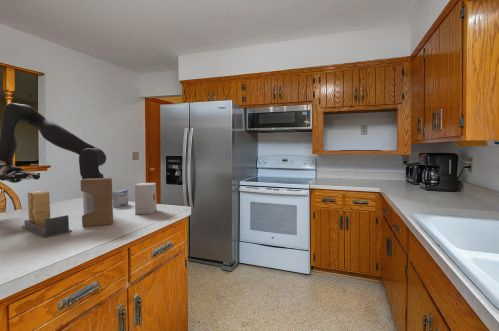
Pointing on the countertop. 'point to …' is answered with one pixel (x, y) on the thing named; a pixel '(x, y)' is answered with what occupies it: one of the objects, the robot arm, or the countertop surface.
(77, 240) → the countertop surface
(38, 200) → the slider block
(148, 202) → the supplement box
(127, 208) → the countertop surface
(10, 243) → the countertop surface
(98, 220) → the decorative block
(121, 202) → the medicine box
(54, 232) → the metal track
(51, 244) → the countertop surface
